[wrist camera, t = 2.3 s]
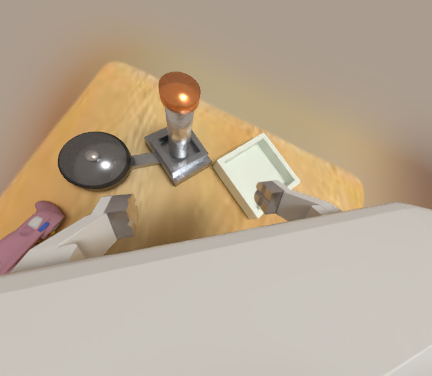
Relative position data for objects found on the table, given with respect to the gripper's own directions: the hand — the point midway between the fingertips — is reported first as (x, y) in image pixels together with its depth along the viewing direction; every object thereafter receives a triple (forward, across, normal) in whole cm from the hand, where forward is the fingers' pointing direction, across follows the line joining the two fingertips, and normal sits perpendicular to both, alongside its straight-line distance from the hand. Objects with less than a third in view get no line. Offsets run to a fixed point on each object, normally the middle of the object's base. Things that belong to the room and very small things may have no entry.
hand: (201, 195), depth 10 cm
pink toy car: (+13, -21, -14) cm, 29 cm away
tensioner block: (+21, -3, -6) cm, 22 cm away
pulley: (+20, -13, -6) cm, 25 cm away
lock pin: (+20, 0, -3) cm, 20 cm away
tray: (+18, +15, -9) cm, 25 cm away
